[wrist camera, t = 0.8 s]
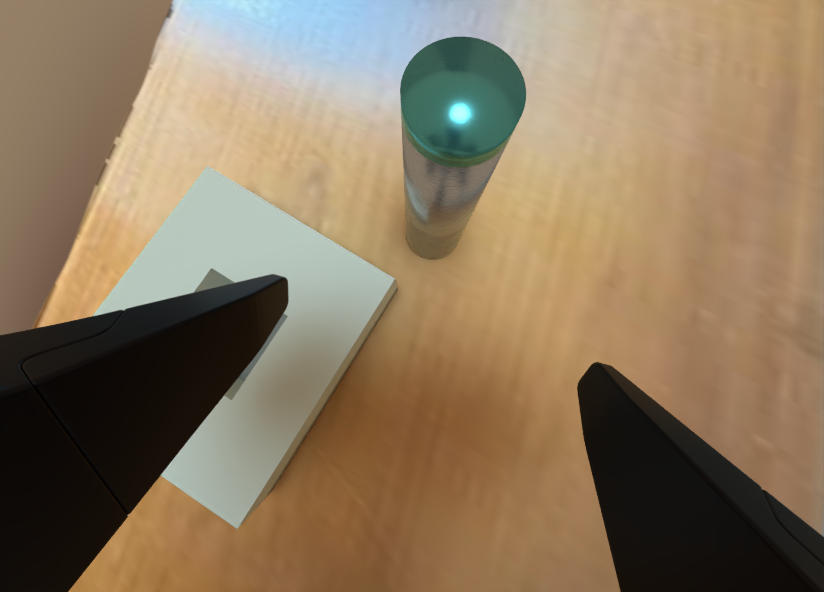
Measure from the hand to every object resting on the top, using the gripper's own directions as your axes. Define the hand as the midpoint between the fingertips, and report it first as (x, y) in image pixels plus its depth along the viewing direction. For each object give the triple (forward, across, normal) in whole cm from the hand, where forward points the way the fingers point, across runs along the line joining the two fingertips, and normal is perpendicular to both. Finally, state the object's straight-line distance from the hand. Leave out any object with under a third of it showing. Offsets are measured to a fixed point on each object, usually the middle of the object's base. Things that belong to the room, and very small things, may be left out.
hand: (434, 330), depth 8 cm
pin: (+15, +1, +2) cm, 15 cm away
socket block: (+8, +11, +10) cm, 17 cm away
